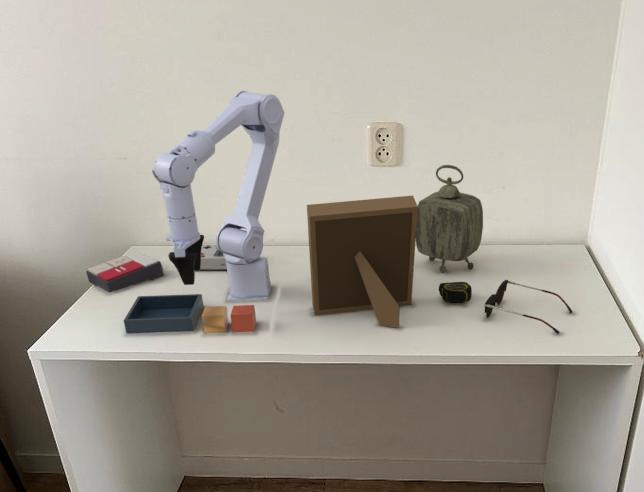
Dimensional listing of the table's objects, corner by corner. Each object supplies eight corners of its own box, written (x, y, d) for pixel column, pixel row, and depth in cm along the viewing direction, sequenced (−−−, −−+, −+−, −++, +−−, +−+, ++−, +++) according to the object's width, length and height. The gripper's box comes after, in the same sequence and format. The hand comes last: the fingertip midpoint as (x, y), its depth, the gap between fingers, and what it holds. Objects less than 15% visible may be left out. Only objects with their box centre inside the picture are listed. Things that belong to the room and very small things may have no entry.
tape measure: (467, 294, 168) (468, 278, 166) (473, 306, 163) (474, 290, 161) (438, 295, 168) (438, 280, 166) (443, 308, 162) (443, 292, 160)
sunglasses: (503, 298, 166) (505, 277, 163) (573, 314, 160) (577, 293, 157) (481, 323, 156) (484, 301, 153) (556, 341, 150) (560, 319, 147)
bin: (204, 308, 167) (201, 293, 165) (194, 333, 157) (191, 318, 155) (141, 310, 167) (137, 296, 165) (126, 335, 157) (123, 320, 155)
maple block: (229, 324, 159) (226, 305, 157) (226, 334, 155) (223, 315, 153) (208, 325, 159) (205, 306, 157) (204, 335, 156) (201, 315, 153)
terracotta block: (256, 323, 159) (254, 304, 157) (254, 333, 155) (251, 314, 153) (236, 324, 159) (233, 305, 157) (233, 334, 155) (230, 314, 153)
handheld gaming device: (194, 258, 193) (191, 244, 191) (248, 258, 191) (246, 244, 189) (184, 271, 186) (181, 257, 183) (241, 271, 184) (239, 257, 182)
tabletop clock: (480, 268, 181) (486, 164, 167) (464, 281, 174) (469, 174, 160) (428, 258, 187) (430, 157, 173) (411, 270, 181) (411, 166, 167)
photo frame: (312, 307, 165) (303, 196, 151) (407, 297, 168) (406, 187, 154) (320, 337, 153) (311, 219, 139) (422, 325, 156) (423, 209, 142)
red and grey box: (84, 268, 180) (138, 248, 188) (89, 284, 182) (142, 264, 190) (105, 280, 173) (160, 258, 181) (110, 296, 175) (164, 275, 183)
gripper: (168, 204, 156) (180, 264, 164) (154, 227, 144) (166, 291, 152) (201, 203, 156) (211, 263, 164) (190, 226, 144) (200, 290, 152)
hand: (192, 276), depth 158 cm, fingers open, 7 cm apart
